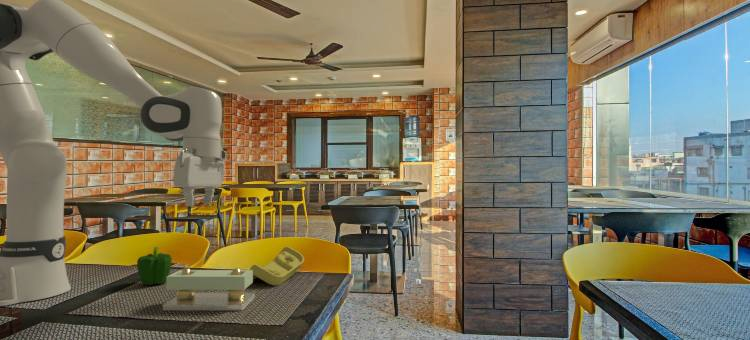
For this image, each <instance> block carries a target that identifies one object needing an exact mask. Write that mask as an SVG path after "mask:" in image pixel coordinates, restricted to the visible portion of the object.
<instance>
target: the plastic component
mask: <svg viewBox="0 0 750 340" xmlns="http://www.w3.org/2000/svg"><path fill="white" fill-rule="evenodd" d="M304 261H305V257H304V256H303V254H302V253H300V252H299V251H297V250H296V249H294V248H292V247H290V246H285V247H283V249H281V250H280V252H279V253H278V254H277V255H276V256H275V258H274V259H272V261H270V262H268V263H267V264H265V265H264V266H261V265H259V264H255V263H254V264H252V266H251V267H250V269H249V270H253V281H254V280H255V279H257V278H258V279H260V280H262V281H263V282H265V283H266V284H268V285H271V286H273V287H275V286H279V285H280V286H281V285H282V284H284V282H286V281H287V280H289V279H291V277H292V276H294V275H295V274H296V272H297V270H298V269H300V268H301V266H302V265H303V263H304Z"/></svg>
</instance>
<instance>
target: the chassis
mask: <svg viewBox="0 0 750 340" xmlns="http://www.w3.org/2000/svg"><path fill="white" fill-rule="evenodd" d="M181 270H182V275H190V270H191V268H190V267H186V268H185V267H184V268H182V269H181ZM232 270H233V275H240V270H241V268H238V267H236V268H235V267H234V268H233V269H232ZM195 291H196V290H176V296H175V297H173V298H172V299H170V300H169V301H167V302H165V303H164V304H162V311H243V310H244V309H246V307H247V306H249V304H250V303H251V302H253V300H254V299H255V298H256V293H255V292H245V291H246V289H245V290H227V292H195Z"/></svg>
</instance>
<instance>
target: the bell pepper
mask: <svg viewBox="0 0 750 340" xmlns="http://www.w3.org/2000/svg"><path fill="white" fill-rule="evenodd" d="M159 249H160V247H158V246H154V248H153V253H149V254H146V255H143V256H139V257H138V259H137V261H136V263H137V264H136V268H137V273H138V275H139V279H140V282H141V284H143V285H144V286H154V285H162V284H165V283H166V277H167V276H169V275H171V274H170V273H171V270H172V269H171V268H172V262H173V261H172V256H171V254H170V253H168V254H167V253H162V252H159V253H158V250H159Z"/></svg>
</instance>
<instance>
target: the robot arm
mask: <svg viewBox="0 0 750 340" xmlns="http://www.w3.org/2000/svg"><path fill="white" fill-rule="evenodd" d="M52 53H55V54H56V55H57V57H59V58H61V59H62V60H63V61H64V62H65V63H67V64H68V65H69V66H71V67H73V68H74V69H76V70H77V71H78V72H81V73H82V74H84V75H86V76H88V77H90V78H91V79H94V80H96V81H98V82H100V83H102V84H104V85H106V86H108V87H111V88H112V89H115V90H117V92H120V93H121V94H123V95H124V96H125V97H127V98H128V99H129V100H130V101H131V102H133V103H134V104H135V105H136V106H137V107H139V108H140V120H141V122H142V124H143V126H145V128H146V129H147V130H148V131H150V132H152V133H154V134H157V135H158V136H160V137H163V138H165V139H166V140H167V141H170V142H182V149H181V151H180V152H179V155H178V156H177V157H176V159H175V163H174V171H173V175H172V176H173V180H172V182H173V186H174V187H176V188H182V193H183V196H184V201H185V202H184V206H186V207H194V206H195V205H196V198H195V197H194V192H195V188H202V187H203V188H204V196H203V197H202V204H203V205H210V204H212V201H213V196H214V193H215V192H216V191H215V190H216V189H215V188H216V187H218V188H220V187H222V185H223V182H224V177H225V176H224V175H225V162H224V161H226V160H227V152H226V151H225V150H224V149H223V147H222V145H221V144H222V143H221V140H222V139H221V134H220V131H221V127H222V123H223V112H222V111H223V106H222V99H221V98H220V96H219V94H218V93H216V92H215V91H214V90H212V89H209V88H207V87H205V86H204V87H203V86H199V85H191V86H189V87H187V88H186V89H184V90H182V91H179V92H176V93H173V94H168V95H167V94H166V95H163V94H162V93H160V92H159V91H158V90H156V89H155V87H153V86H152V85H150V83H148V82H147V81H146V80H145V79H144V78H143V77H142V76H141V75H140V74H139V72H137V71H136V70H135V68H133V66H132V65H131V63H130V62H129V61H128V59H127V58H126V57H125V56H124V54H122V51H120V49H119V48H118V47H117V46H116V45H115V43H114V42H113V41H112V40H111V38H109V36H107V34H106V33H105V32H104V31H103V30H102V29H100V28H99V27H98V26H97V25H96V24H95V23H94V22H92V21H91V20H90V19H89V18H87V17H86V16H85V15H84V14H82V13H81V12H79V11H77V9H75V8H73V7H72V6H71V5H68V4H67V3H65V2H64V1H62V0H38V1H36V2H34V3H33V4H31V6H30V7H29V8H28V7H26V6H22V5H20V4H19V5H17V4H14V3H4V2H0V156H1V158H2V161H3V163H4V164H5V167H6V169H7V179H6V182H7V183H6V184H7V185H6V214H5V215H6V223H5V224H6V228H5V229H6V230H5V231H6V234H5V235H6V238H5V239H6V240H5V241H4V242H3V243H0V307H3V306H9V305H10V306H11V305H14V304H20V303H25V302H32V301H38V300H43V299H47V298H51V297H55V296H58V295H62V294H64V293H67V292H69V291H70V290H71V289H72V286H71V284H70V281H69V278H68V277H69V276H68V274H67V268H66V261H65V253H66V250H67V249H66V245H67V243H66V242H67V240H66V236H65V235H64V231H65V230H64V229H65V228H64V225H65V224H64V220H65V219H64V215H65V212H64V211H65V209H64V208H65V199H66V185H67V175H68V173H67V171H68V170H67V169H68V159H67V156H66V154H65V153H64V151H63V150H62V149H61V148H60V147H59V146H57V145H56V143H55V142H54V139H53V136H52V133H51V130H50V127H49V124H48V120H47V117H46V114H45V111H44V109H43V106H42V103H41V101H40V99H39V97H38V95H37V94H38V93H37V92H36V90H35V88H34V85H33V83H32V82H33V81H31V78H30V75H29V74H28V71H27V69H26V68H27V66H26V65H27V61H28V60H31V61H38V60H40V59H42V58H43V57H45V56H46V55H49V54H52Z"/></svg>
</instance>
